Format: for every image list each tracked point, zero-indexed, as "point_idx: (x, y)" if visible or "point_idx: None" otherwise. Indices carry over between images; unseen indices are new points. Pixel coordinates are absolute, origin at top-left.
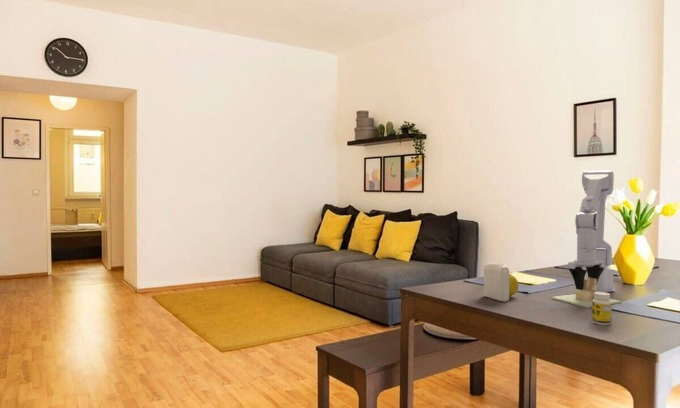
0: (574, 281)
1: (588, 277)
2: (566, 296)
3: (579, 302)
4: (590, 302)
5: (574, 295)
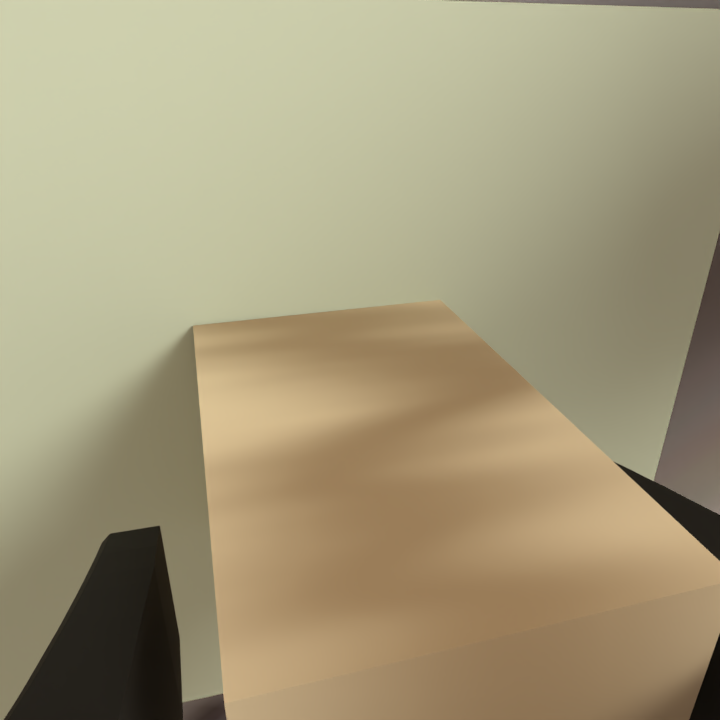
0: (17, 707)
1: (660, 709)
2: (125, 120)
3: (2, 586)
4: (191, 608)
5: (384, 113)
